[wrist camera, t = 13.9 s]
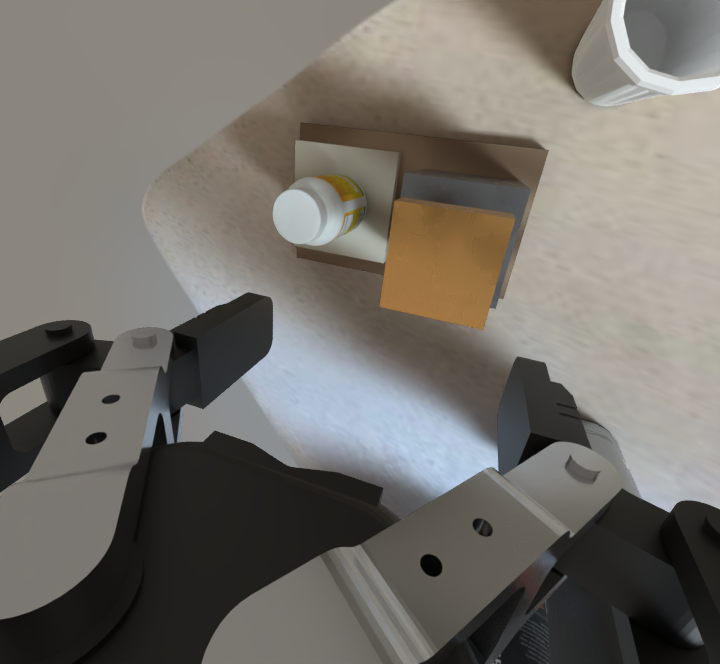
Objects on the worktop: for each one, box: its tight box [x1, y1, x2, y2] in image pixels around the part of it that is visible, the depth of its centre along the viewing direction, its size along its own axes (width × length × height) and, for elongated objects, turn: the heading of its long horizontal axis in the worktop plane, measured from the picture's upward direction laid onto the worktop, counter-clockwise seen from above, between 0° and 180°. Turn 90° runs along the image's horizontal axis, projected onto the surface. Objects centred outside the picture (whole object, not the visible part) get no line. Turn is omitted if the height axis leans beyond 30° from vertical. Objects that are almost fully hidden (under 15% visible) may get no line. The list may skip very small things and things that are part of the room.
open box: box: [400, 169, 531, 309], centre depth 30 cm, size 8×8×10 cm
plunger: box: [380, 197, 515, 330], centre depth 25 cm, size 6×6×12 cm
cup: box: [572, 0, 720, 107], centre depth 21 cm, size 8×8×14 cm
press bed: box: [293, 123, 549, 299], centre depth 35 cm, size 13×22×2 cm, turn 83°
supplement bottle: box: [273, 174, 367, 246], centre depth 32 cm, size 5×5×10 cm
